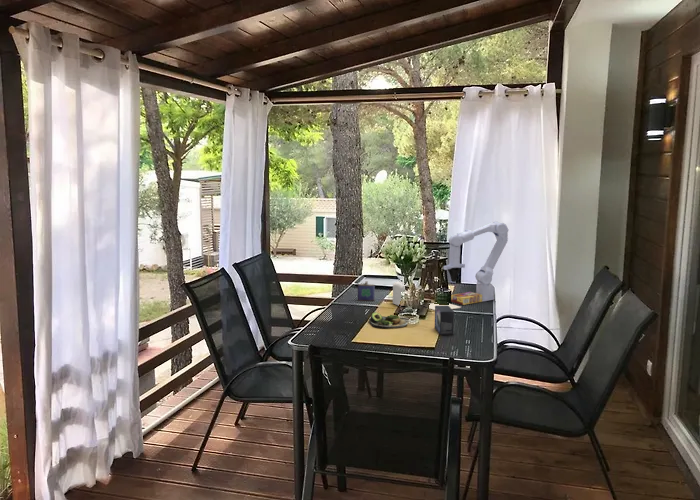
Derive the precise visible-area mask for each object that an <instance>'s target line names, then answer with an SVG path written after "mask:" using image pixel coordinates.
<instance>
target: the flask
mask: <svg viewBox="0 0 700 500" xmlns="http://www.w3.org/2000/svg"><path fill="white" fill-rule="evenodd" d="M368 282H369V281H365V282H363V283H358V284H357V301H359V302H365V301H366V302H374V301H375V300H376V299H375V287H376V286H375V285H376V284H374V283H368Z"/></svg>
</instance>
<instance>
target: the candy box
mask: <svg viewBox="0 0 700 500" xmlns="http://www.w3.org/2000/svg"><path fill="white" fill-rule="evenodd" d="M450 297H451V299H450V302H451V303H454V304H458V305H462V306H465V305H469V304H470V305H471V304H478V303H482V302H483V301H482V295H481V294H477V293H476V292H472V291H466V292H460V293H455V294H451V296H450Z"/></svg>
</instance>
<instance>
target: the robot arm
mask: <svg viewBox="0 0 700 500" xmlns="http://www.w3.org/2000/svg"><path fill="white" fill-rule="evenodd" d="M486 233H492V234H493V235H494V236H495V239H496V241H495V244H494V245H493V246H492V247H493V248H492V250H491V251H490V252H489V255H488V257H487V259H486V260H485V263H484V265H482V267H480V269H479V270H478V271H477V272H476V273H475V280H476V289H475V290H476V291H475V293H477V294H481V295H482V302H487V301H493V300H495V298H494V292H495V291H494V290H495V288H494V285H493V283H491V282H492V280H493V276H494V268H495V266H496V264H497V263H498V260H499V259H500V258H501V255H502V253H503V251H504V248H505V247H506V245H507V243H508V240H509V236H508V235H509V234H508V233H509V228H508V226H507V224H505V223H504V222H499V221H492V222H490V223H487V224H485V225H482V226H480V227H478V228H475V229H474V230H471V229H464V230H463V232H458V233H456V234H452V235H450V236H449V238H448V239H447V241H448V243H449V256H448V257H449V258H448V259H449V260H448V263H447V265H443V270H445V271H447V272H448V273H449V276H450V281H451V282H453V283H457V279H458V276H459V274H460V273H461V268H462V269H465V267H466V264H465V263H461V246H462V244H465V243H467V242H469V241H472V240H474V239H475V237H477V236H479V235H483V234H486Z"/></svg>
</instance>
